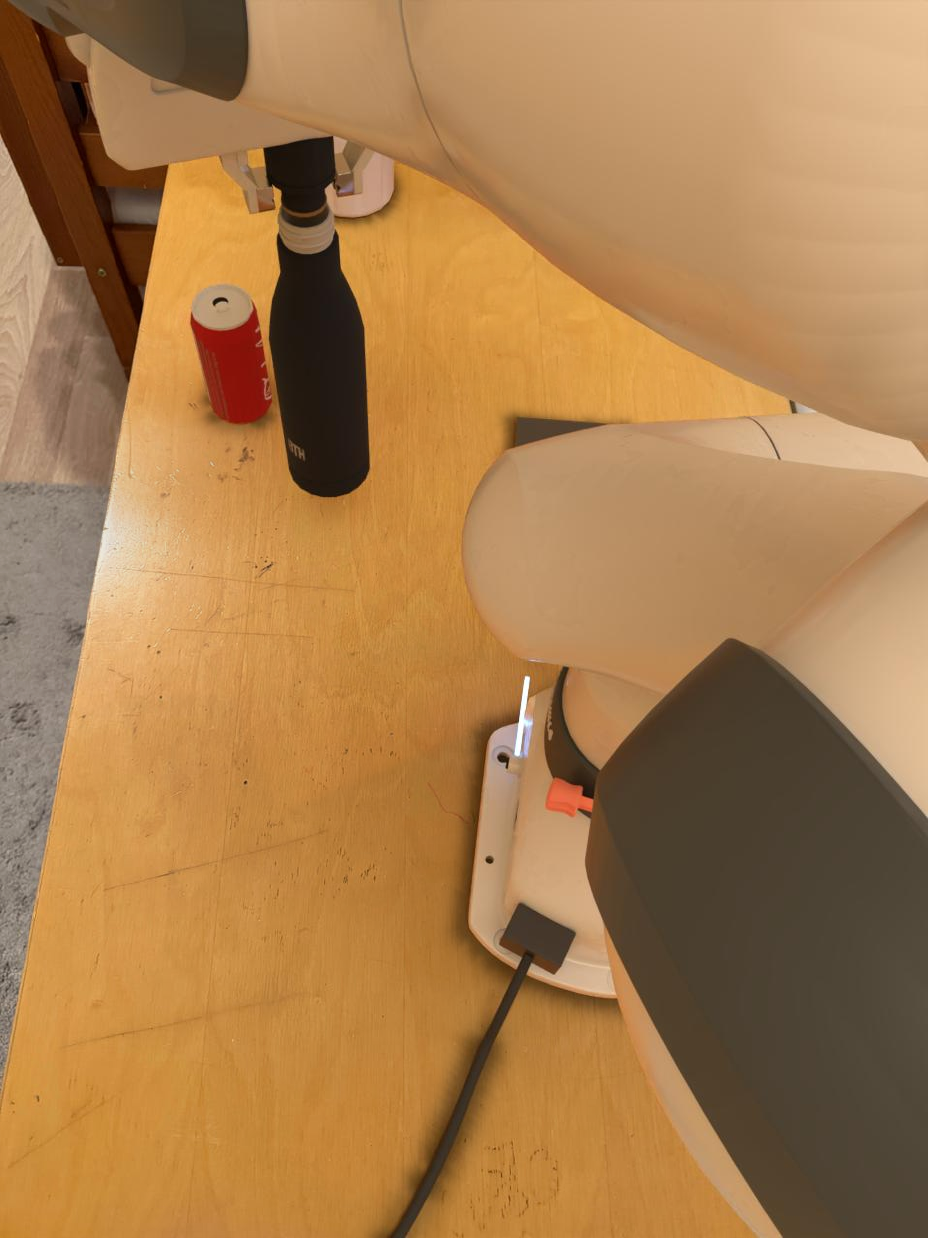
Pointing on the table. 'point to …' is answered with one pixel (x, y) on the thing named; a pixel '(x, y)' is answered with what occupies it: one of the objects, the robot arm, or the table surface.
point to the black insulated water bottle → (316, 329)
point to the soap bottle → (364, 187)
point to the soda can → (231, 352)
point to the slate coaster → (546, 429)
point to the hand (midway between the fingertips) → (304, 197)
